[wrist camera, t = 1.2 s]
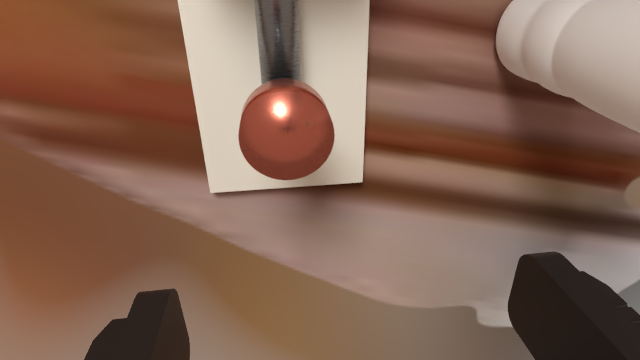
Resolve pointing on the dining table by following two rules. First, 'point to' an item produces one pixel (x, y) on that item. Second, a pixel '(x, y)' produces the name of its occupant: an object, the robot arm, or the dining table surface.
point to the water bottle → (577, 51)
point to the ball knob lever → (283, 102)
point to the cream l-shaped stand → (244, 77)
